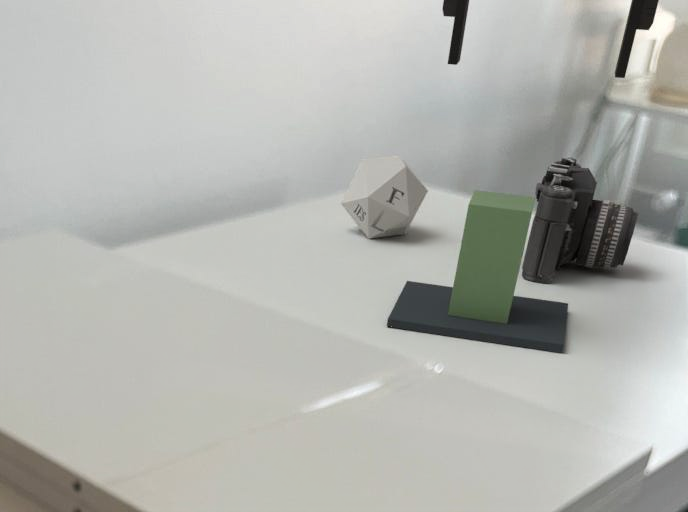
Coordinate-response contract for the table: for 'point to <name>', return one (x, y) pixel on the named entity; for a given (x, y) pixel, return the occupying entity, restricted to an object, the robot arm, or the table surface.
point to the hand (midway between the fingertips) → (535, 69)
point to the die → (384, 196)
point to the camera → (575, 224)
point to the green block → (490, 256)
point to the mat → (521, 329)
